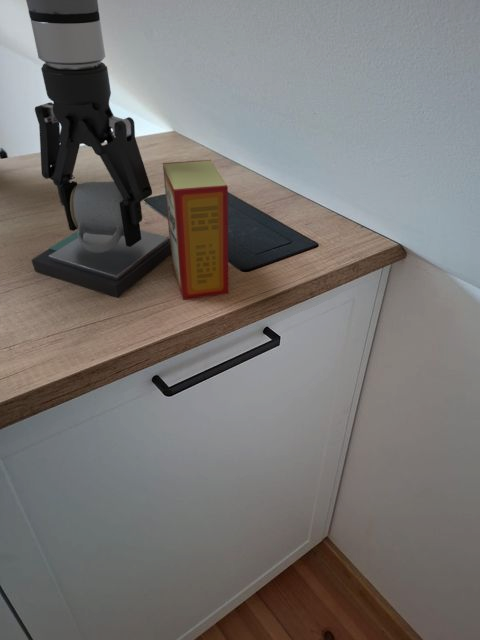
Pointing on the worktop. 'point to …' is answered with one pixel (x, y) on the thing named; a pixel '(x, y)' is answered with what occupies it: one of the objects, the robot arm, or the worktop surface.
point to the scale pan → (108, 254)
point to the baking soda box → (197, 227)
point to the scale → (93, 280)
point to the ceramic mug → (97, 213)
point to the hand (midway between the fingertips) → (105, 234)
